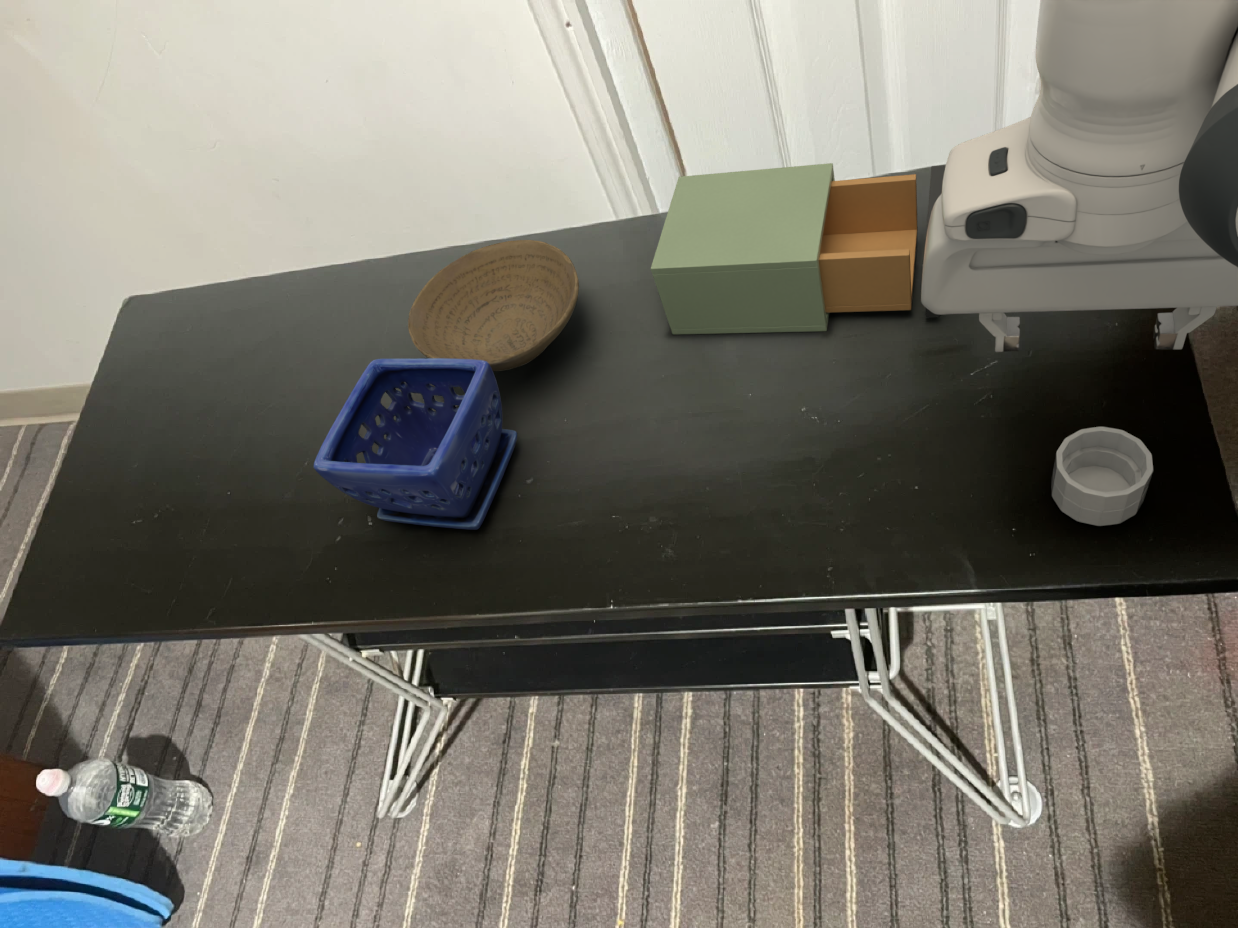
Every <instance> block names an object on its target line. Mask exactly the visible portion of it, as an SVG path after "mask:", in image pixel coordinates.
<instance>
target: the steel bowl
mask: <svg viewBox="0 0 1238 928" xmlns="http://www.w3.org/2000/svg"><path fill="white" fill-rule="evenodd" d="M1153 473H1154V465H1153V454H1152V453H1151V451H1150V450H1149V448H1147V446H1146V445H1145V443H1144V442H1143V441H1142V440H1141V439H1140V438H1138V437H1136V436H1134V435H1132V434H1131V433H1128V431H1125V430H1123V429H1119V428H1114V427H1108V426H1096V427H1095V426H1094V427H1087V428H1081V429H1079V430H1077V431H1075V432H1074V433H1072V434H1069V435H1068V436H1067V437H1065V438H1064V439H1063V441H1062V443H1061V444H1060V446H1059V447H1058V449H1057V450H1056V453H1055V459H1054V464H1053V469H1052V475H1051V482H1050V483H1051V484H1050V485H1051V487H1050V488H1051V498H1052V499H1053V501H1054V503H1055V504H1056V505H1057V507H1058V508H1059V510H1060V511H1061V512H1062V513H1064V514H1065V515H1066V516H1068V517H1070V518H1071V519H1073V520H1074V521H1076V522H1079V523H1083V524H1087V525H1092V526H1096V527H1103V526H1104V527H1105V526H1112V525H1119V524H1122V523H1124V522H1125V521H1127V520H1129V519H1130V518H1132V517H1134V516H1136V515H1137V513H1138V511H1139V510H1140V508H1141V506H1142V504H1143V503H1144V500H1145V498H1146V494H1147V491H1148V488H1149V485H1150V482H1151V479H1152V475H1153Z"/></svg>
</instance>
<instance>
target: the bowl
mask: <svg viewBox="0 0 1238 928" xmlns="http://www.w3.org/2000/svg"><path fill="white" fill-rule="evenodd" d="M579 288H580V281H579V276H578V273H577V270H576V268H575V264H574V263H573V261H572V259H570V257H569V256H568V255H567V253H565V252H563V250H562V249H560V248H558V247H557V246H554V245H552V244H549V243H548V242H544V241H541V240H533V239H517V240H516V239H515V240H507V241H502V242H497V243H493V244H489V245H486V246H483V247H480V248H477V249H475V250H472V251H470V252H468V253H467V254H464V255H462V256H461V257H459V258H457V259H456V260H454V261H452V262H450V263H449V264H447V265H446V266H444V267H443V268H442V269H440V270H439V271H438V272H437V273H435V274H434V275H433V276H432V278H430V279H429V280H428V281H427V282H426V284H425V285H424V286H423V287H422V288H421V289H420V291H419V292H418V294H417V296H416V297H415V299H414V301H413V303H412V305H411V308H410V310H409V312H408V319H407V330H408V333H409V336H410V338H411V341H412V343H413V345H414V347H415V348H416V349H417V350H418V351H419V352H420V353H421V354H422V355H423V356H424V357H426V359H427V358H447V359H475V360H484V361H487V362H488V363H489V365H490V366H491V368H492V371H493V372H501V371H509V370H513V369H516V368H519V367H521V366H524V365H526V364H528V363H531V362H532V361H534V360H535V359H536V358H537V357H538V356H540V355H541V354H542V353H543V352H544V351H545V350H546V349H547V348H548V347H549V345H551V343H553V341H555V340H556V338H557V337H558V336H559V335H560V333H561V332H563V330H564V328H566V325H567V324H568V322H569V321H570V319H571V318H572V317H571V316H572V315H573V313H574V310H575V308H576V306H577V302H578V298H579V291H580V289H579Z"/></svg>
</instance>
